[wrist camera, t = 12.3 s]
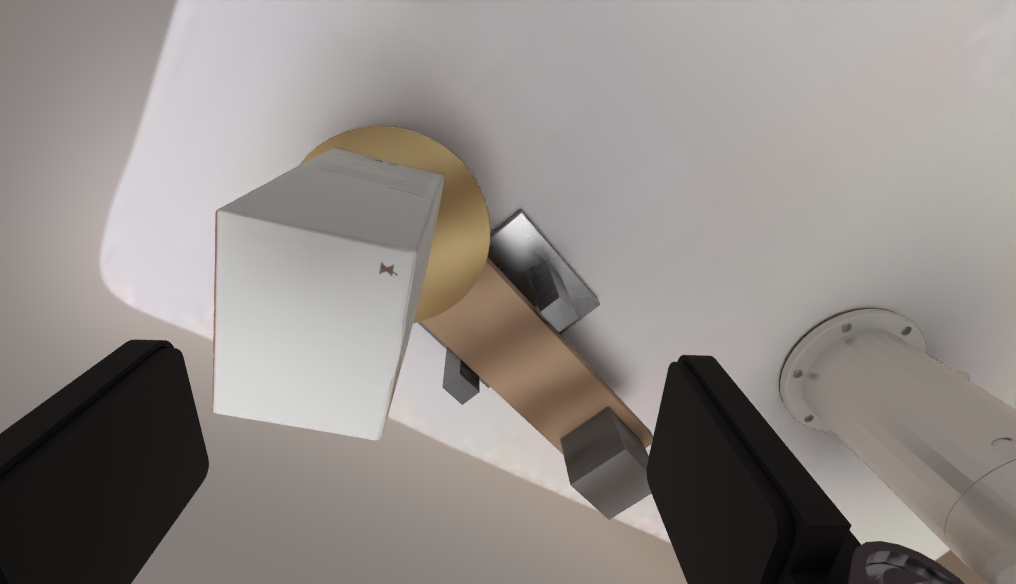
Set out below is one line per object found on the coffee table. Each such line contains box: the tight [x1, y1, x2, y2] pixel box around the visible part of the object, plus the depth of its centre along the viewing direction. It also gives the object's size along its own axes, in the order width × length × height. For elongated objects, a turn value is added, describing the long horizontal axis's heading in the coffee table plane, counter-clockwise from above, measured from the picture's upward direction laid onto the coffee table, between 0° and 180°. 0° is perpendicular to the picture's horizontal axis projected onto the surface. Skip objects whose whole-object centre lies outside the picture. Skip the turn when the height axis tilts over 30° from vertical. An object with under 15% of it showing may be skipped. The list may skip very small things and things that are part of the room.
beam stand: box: [418, 210, 600, 405], centre depth 36 cm, size 10×12×8 cm
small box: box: [212, 148, 444, 441], centre depth 22 cm, size 8×6×13 cm
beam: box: [300, 126, 653, 519], centre depth 31 cm, size 31×12×6 cm, turn 40°
